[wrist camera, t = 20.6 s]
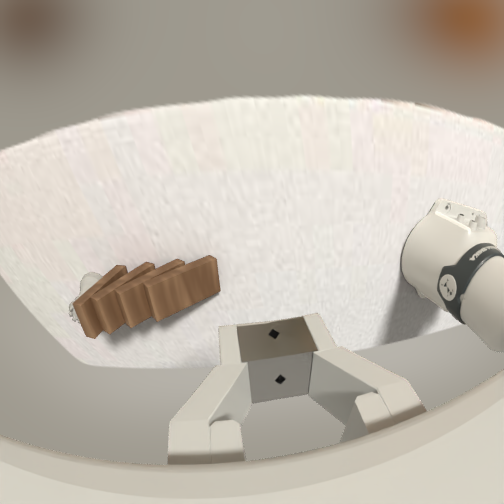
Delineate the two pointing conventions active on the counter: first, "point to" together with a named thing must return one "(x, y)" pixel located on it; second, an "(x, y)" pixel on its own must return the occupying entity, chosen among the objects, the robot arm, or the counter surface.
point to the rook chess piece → (84, 290)
